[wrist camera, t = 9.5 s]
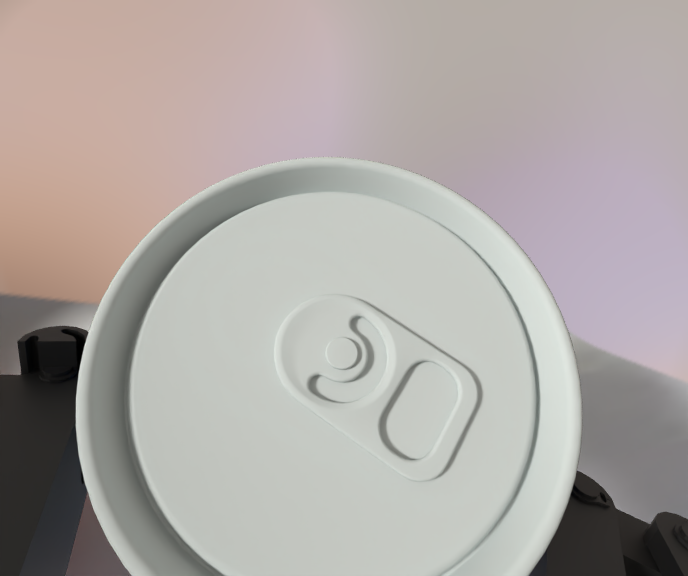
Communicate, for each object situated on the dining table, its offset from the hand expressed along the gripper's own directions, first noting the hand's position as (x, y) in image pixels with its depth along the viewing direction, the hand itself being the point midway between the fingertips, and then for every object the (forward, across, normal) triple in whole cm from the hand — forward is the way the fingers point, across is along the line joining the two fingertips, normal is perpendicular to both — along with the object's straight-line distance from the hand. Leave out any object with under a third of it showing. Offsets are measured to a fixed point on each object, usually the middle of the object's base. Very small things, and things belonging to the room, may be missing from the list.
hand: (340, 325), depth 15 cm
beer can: (+3, 0, -7) cm, 8 cm away
